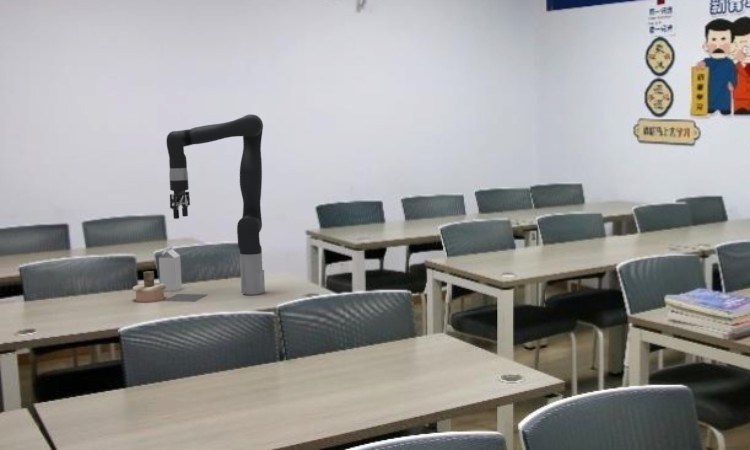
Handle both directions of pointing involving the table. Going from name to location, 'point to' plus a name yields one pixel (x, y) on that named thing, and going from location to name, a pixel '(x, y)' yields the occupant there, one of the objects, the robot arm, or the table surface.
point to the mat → (186, 297)
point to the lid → (149, 283)
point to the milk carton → (170, 270)
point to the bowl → (150, 296)
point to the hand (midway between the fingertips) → (180, 217)
